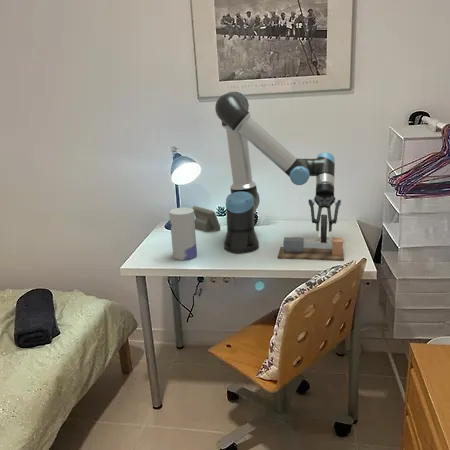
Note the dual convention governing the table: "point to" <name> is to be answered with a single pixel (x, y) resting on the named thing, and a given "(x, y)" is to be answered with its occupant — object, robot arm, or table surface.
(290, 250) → the outer sleeve
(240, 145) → the robot arm
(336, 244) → the socket block
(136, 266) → the table surface
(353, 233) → the table surface
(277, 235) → the table surface
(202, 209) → the digital clock
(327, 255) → the base board
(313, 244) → the sliding bolt
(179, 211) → the container
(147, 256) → the table surface
